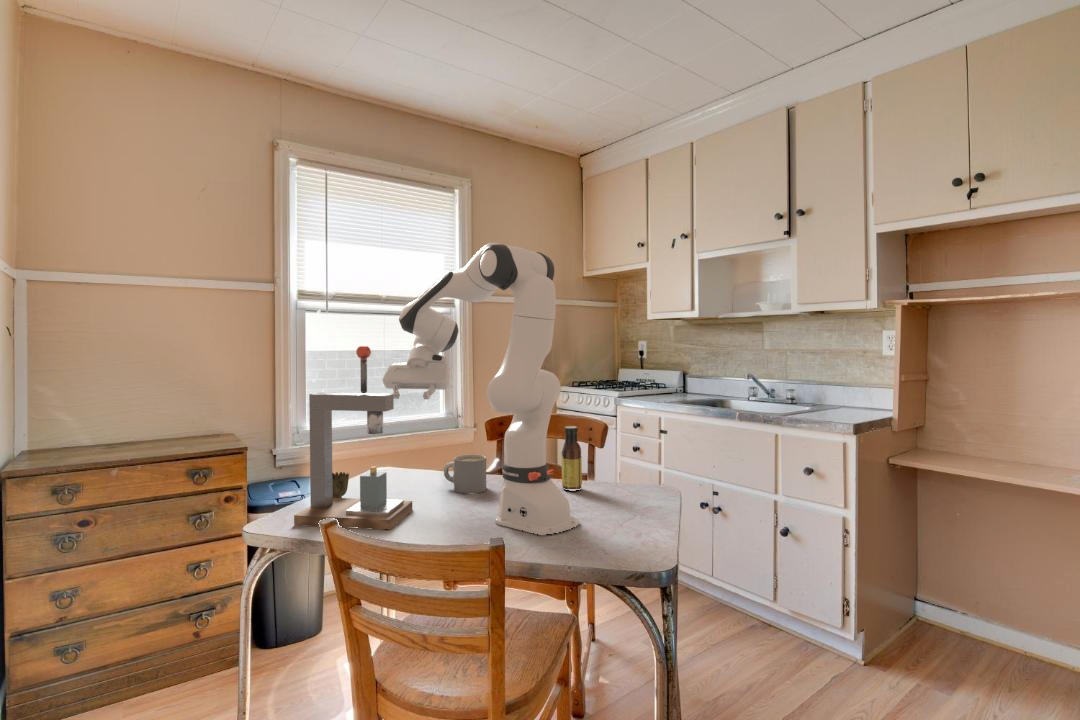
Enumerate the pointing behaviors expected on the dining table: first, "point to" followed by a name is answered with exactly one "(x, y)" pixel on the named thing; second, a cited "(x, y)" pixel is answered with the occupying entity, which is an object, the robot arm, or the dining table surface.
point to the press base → (361, 521)
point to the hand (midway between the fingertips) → (410, 397)
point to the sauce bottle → (571, 460)
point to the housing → (373, 488)
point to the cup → (339, 484)
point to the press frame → (322, 438)
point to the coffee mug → (467, 473)
